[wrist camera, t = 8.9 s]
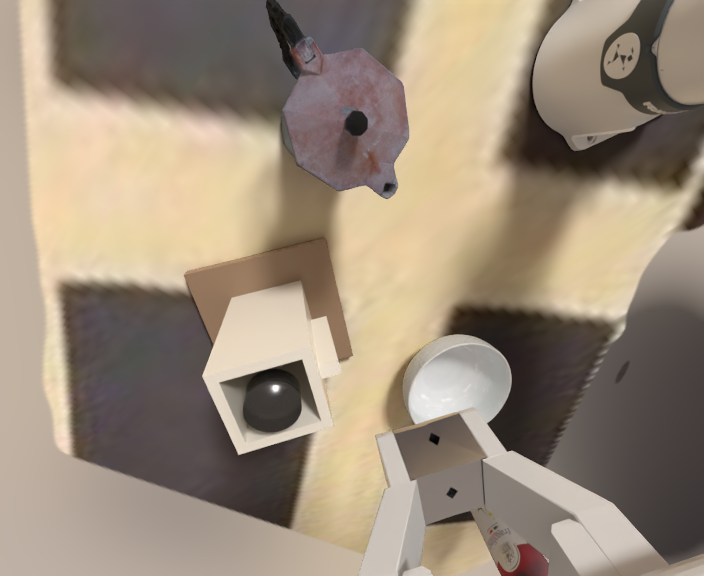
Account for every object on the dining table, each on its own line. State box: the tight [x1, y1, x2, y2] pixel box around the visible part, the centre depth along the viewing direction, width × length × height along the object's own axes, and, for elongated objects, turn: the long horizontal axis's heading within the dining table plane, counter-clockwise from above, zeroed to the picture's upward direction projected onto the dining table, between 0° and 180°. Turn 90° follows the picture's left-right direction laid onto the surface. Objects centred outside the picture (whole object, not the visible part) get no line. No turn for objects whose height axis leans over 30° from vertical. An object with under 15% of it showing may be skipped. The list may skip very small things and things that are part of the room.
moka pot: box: [266, 0, 409, 199], centre depth 30 cm, size 10×15×20 cm, turn 40°
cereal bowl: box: [402, 334, 512, 424], centre depth 53 cm, size 17×17×7 cm
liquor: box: [471, 507, 549, 576], centre depth 54 cm, size 7×7×28 cm
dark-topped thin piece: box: [243, 365, 302, 432], centre depth 37 cm, size 6×6×17 cm
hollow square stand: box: [184, 238, 353, 455], centre depth 38 cm, size 18×18×18 cm
